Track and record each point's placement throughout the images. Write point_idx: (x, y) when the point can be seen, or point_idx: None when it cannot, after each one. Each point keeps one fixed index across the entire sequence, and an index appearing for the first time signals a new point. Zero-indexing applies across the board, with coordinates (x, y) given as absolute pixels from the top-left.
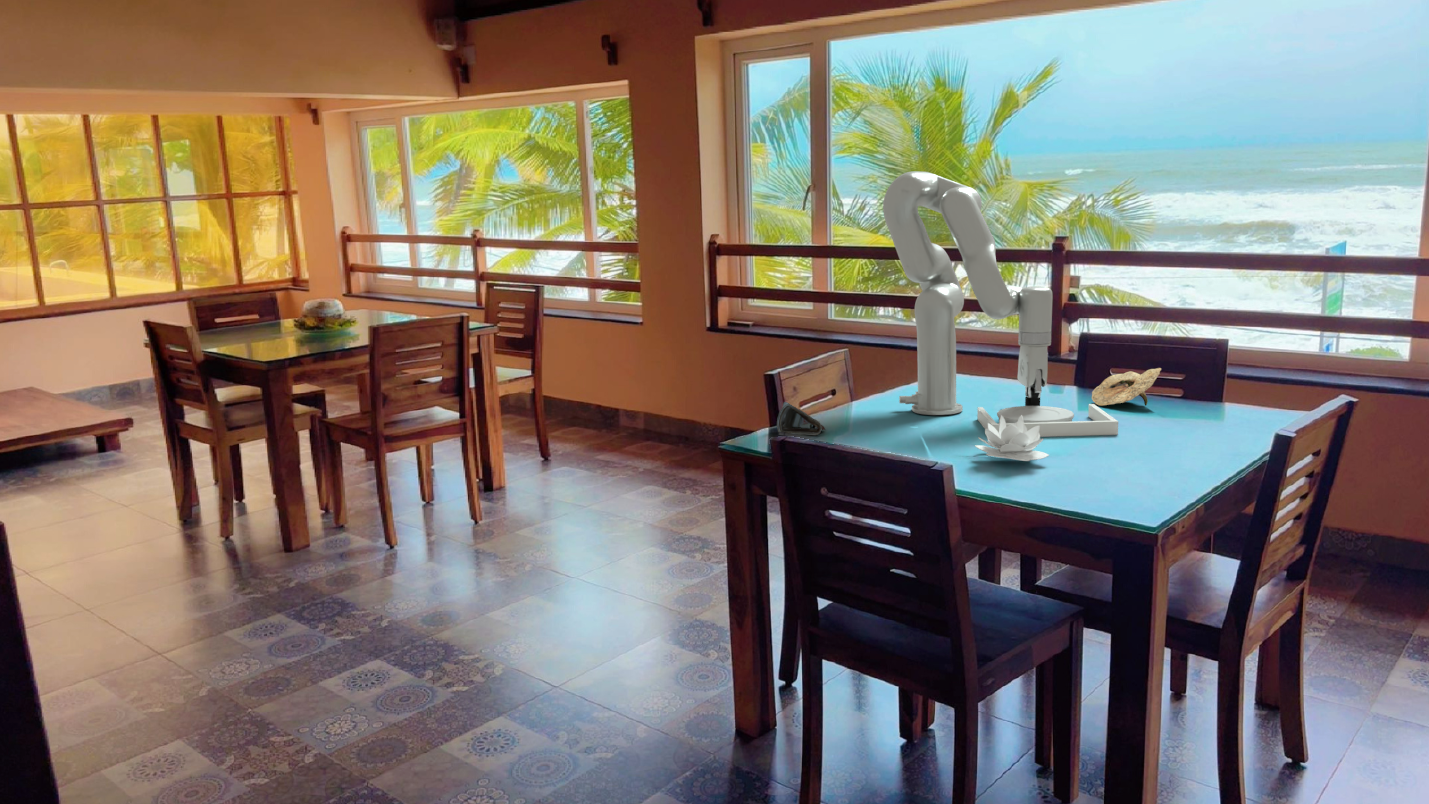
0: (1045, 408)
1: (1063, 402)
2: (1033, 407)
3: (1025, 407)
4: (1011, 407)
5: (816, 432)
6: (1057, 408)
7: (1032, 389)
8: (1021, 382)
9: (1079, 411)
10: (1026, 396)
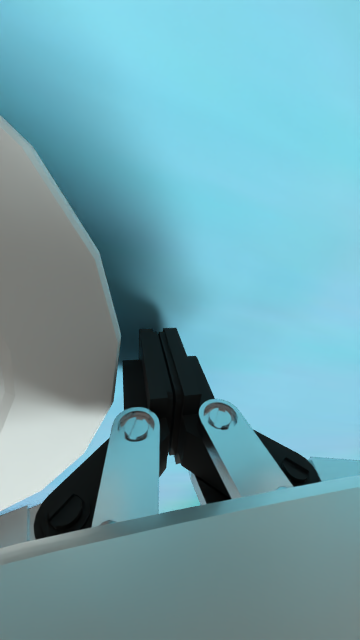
0: (6, 443)
1: (333, 457)
2: (50, 386)
3: (53, 338)
4: (64, 225)
5: None
6: (8, 489)
7: (61, 533)
8: (239, 531)
9: (193, 487)
10: (208, 402)
